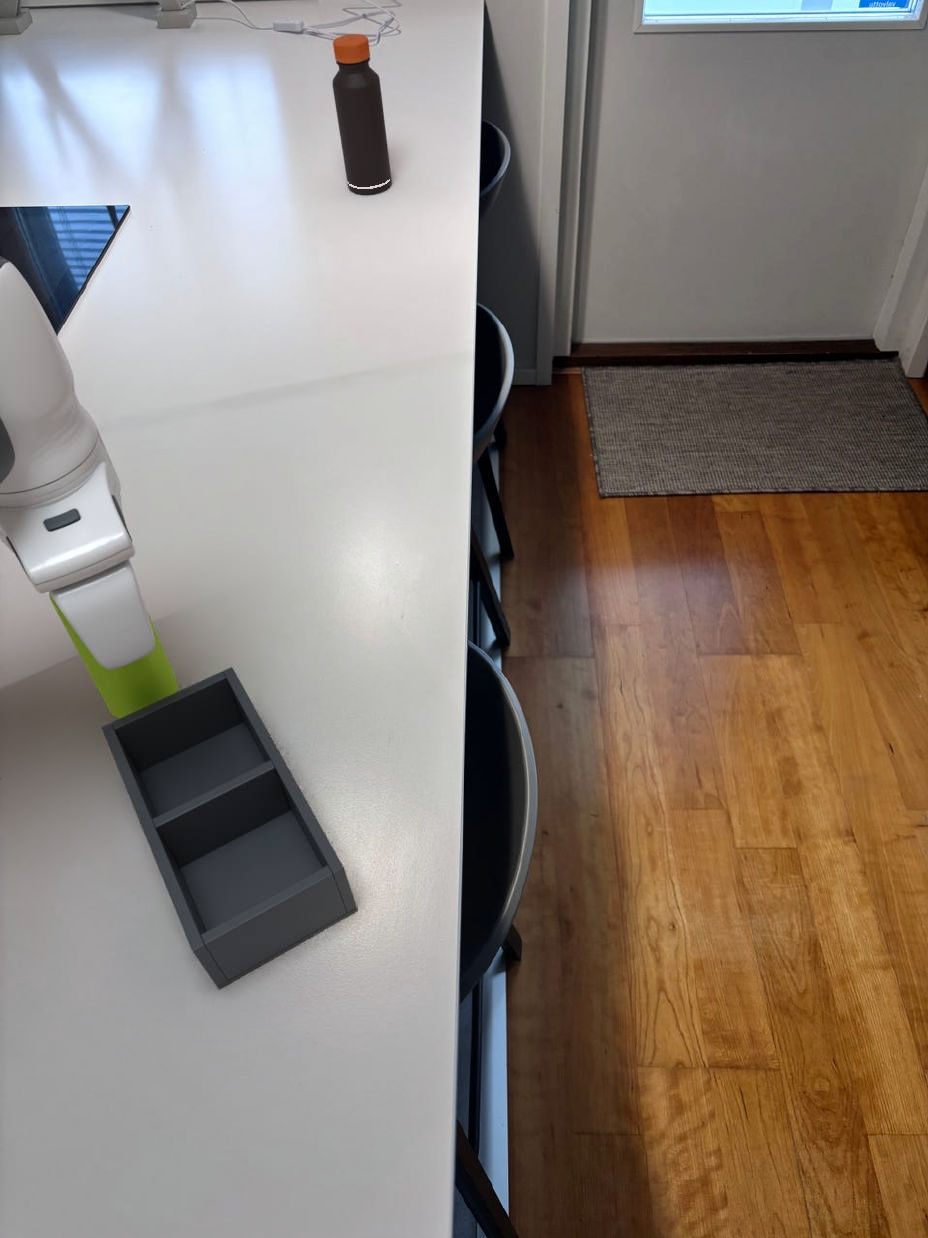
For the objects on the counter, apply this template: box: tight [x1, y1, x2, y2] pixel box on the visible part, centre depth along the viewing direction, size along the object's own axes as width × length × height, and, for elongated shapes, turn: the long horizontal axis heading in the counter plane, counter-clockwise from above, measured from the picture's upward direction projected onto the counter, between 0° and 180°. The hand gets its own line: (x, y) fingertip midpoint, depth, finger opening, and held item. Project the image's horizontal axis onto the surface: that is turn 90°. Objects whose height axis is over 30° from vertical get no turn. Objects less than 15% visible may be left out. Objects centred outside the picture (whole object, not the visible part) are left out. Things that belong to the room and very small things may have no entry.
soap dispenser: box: [48, 592, 179, 719], centre depth 72 cm, size 6×7×20 cm
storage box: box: [101, 666, 359, 990], centre depth 70 cm, size 11×20×6 cm, turn 31°
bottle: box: [331, 33, 392, 195], centre depth 138 cm, size 7×7×20 cm
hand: (115, 621), depth 73 cm, fingers closed on soap dispenser, 6 cm apart
